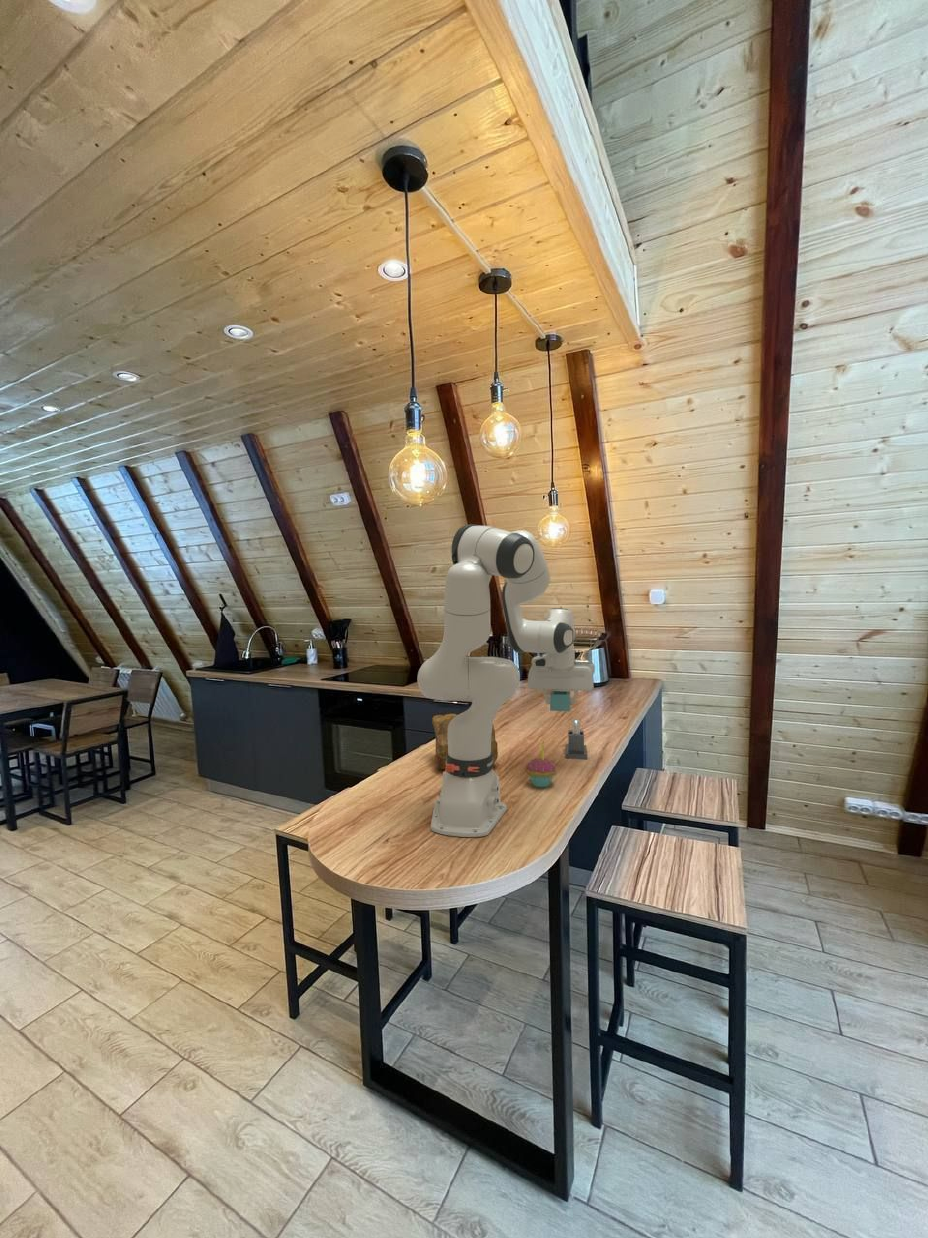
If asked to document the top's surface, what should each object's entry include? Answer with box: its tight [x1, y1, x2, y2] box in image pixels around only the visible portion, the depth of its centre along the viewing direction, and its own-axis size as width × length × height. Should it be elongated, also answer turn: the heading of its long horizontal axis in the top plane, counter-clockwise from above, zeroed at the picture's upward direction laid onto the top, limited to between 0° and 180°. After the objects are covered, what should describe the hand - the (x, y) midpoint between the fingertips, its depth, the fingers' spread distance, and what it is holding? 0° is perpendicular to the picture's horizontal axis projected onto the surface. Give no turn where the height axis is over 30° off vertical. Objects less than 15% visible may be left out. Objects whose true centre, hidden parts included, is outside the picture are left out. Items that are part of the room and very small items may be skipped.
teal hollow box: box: [549, 690, 571, 712], centre depth 154 cm, size 6×6×5 cm
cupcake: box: [525, 740, 557, 788], centre depth 140 cm, size 9×8×12 cm
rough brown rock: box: [431, 713, 499, 770], centre depth 155 cm, size 23×17×15 cm
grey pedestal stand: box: [564, 718, 588, 760], centre depth 167 cm, size 13×7×12 cm, turn 168°
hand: (560, 703), depth 154 cm, fingers closed on teal hollow box, 6 cm apart
